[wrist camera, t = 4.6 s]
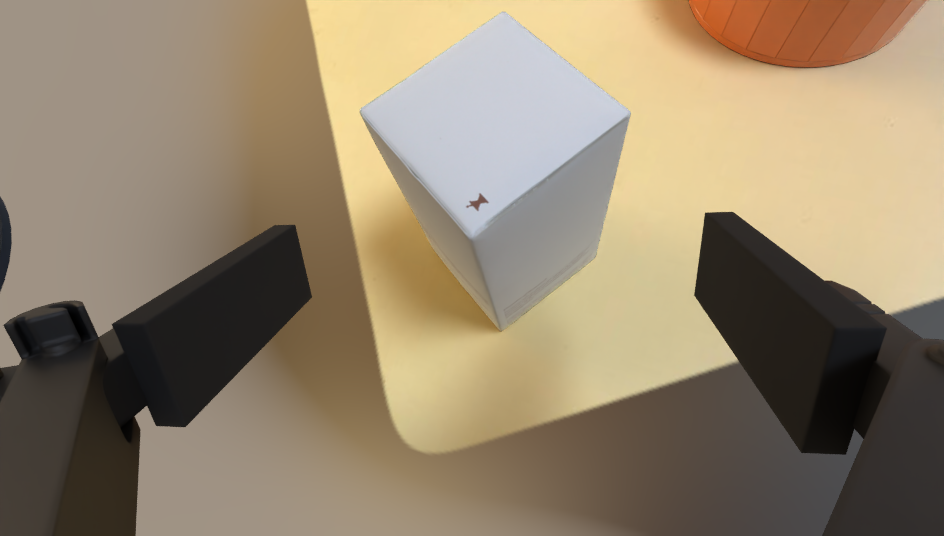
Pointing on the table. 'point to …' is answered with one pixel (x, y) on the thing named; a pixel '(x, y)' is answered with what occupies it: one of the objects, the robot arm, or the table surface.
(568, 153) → the white packaging box
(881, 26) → the orange round bowl
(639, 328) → the table surface
